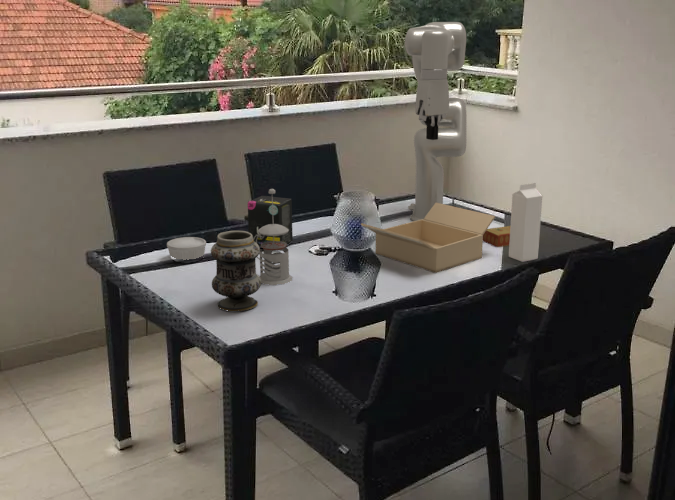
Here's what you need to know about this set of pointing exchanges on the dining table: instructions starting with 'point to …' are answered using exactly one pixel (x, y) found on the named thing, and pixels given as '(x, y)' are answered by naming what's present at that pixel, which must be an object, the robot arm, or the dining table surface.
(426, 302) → the dining table surface
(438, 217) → the far flap
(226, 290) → the apothecary jar
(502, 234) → the carton
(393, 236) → the near flap
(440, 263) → the kraft box
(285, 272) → the french press
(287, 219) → the tampon box
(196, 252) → the ramekin
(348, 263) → the dining table surface
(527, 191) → the milk
